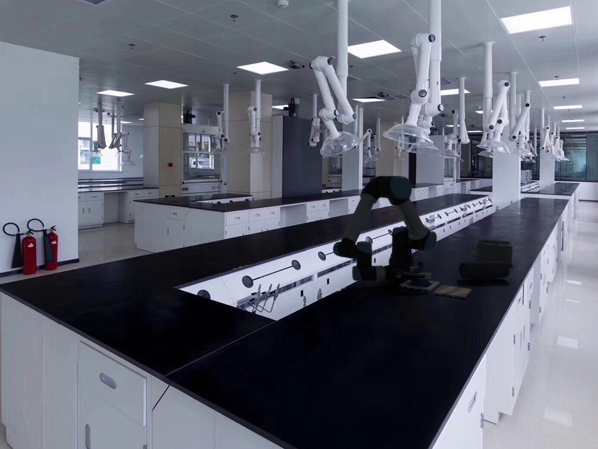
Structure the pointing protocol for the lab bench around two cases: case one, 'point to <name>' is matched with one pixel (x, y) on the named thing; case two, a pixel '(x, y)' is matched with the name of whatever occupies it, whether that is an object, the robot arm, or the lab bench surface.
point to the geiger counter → (493, 251)
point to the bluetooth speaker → (484, 270)
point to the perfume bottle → (420, 270)
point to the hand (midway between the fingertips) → (426, 272)
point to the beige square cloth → (453, 291)
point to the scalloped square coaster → (420, 287)
